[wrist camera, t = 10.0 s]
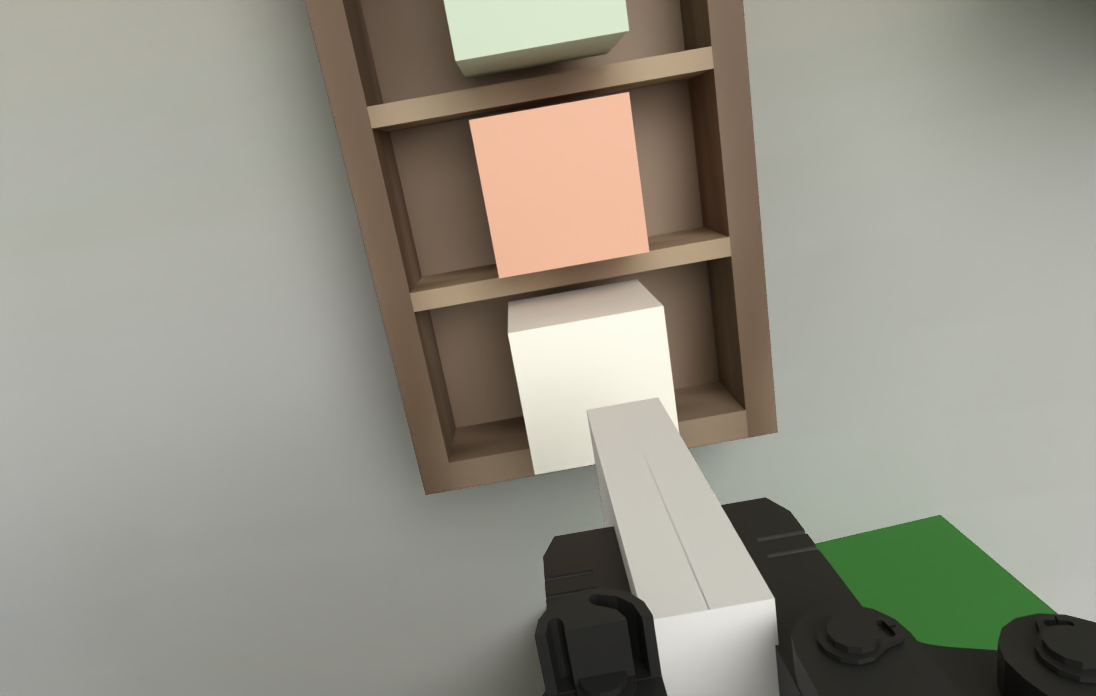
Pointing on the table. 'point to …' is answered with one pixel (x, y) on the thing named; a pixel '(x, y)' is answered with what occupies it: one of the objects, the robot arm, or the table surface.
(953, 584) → the hardback book
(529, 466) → the wooden compartment tray
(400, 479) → the table surface
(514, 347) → the white cube
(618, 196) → the peach cube
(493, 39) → the light green cube
